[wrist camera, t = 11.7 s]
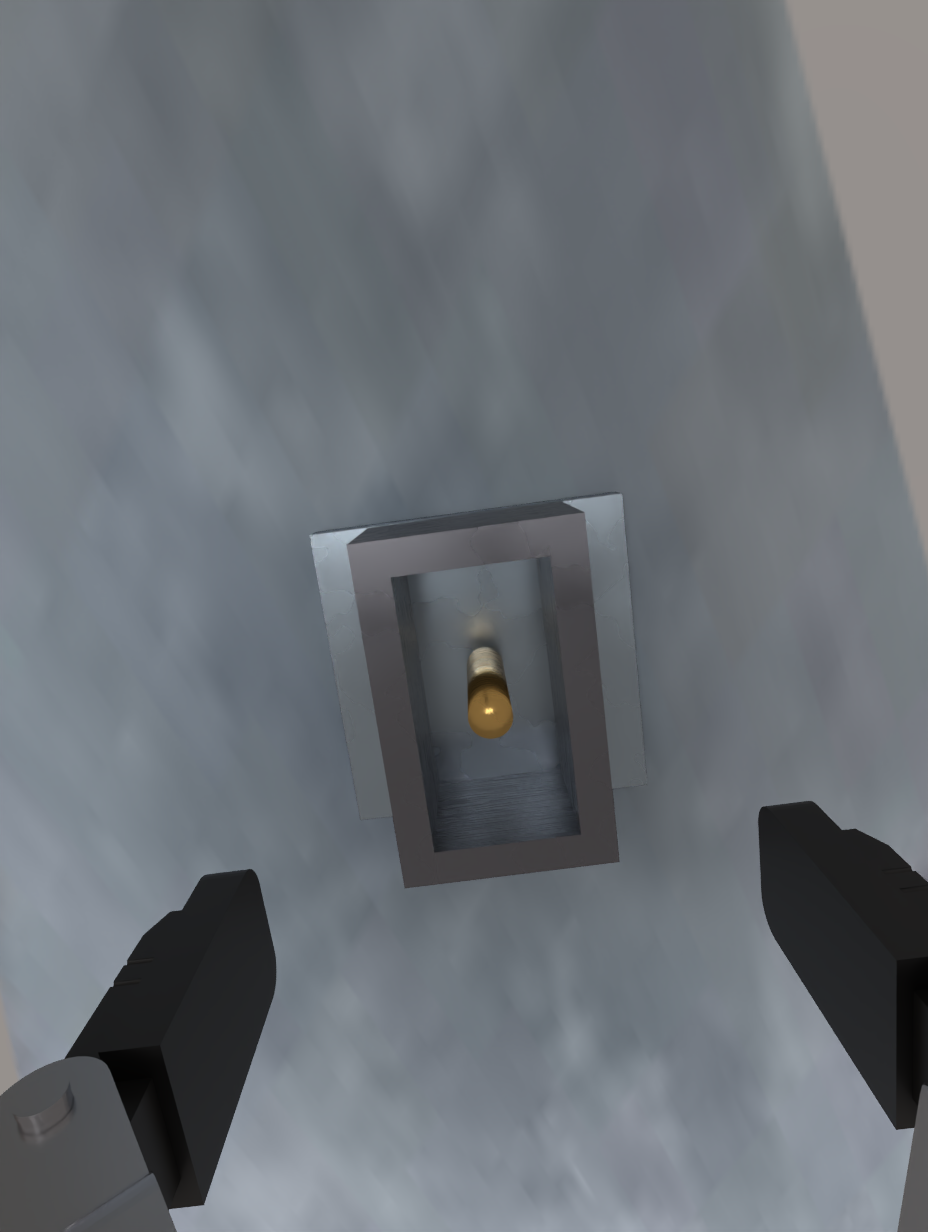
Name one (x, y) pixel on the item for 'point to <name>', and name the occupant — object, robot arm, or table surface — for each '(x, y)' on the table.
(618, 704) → the peg plate
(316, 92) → the table surface
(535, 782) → the grey storage bin
